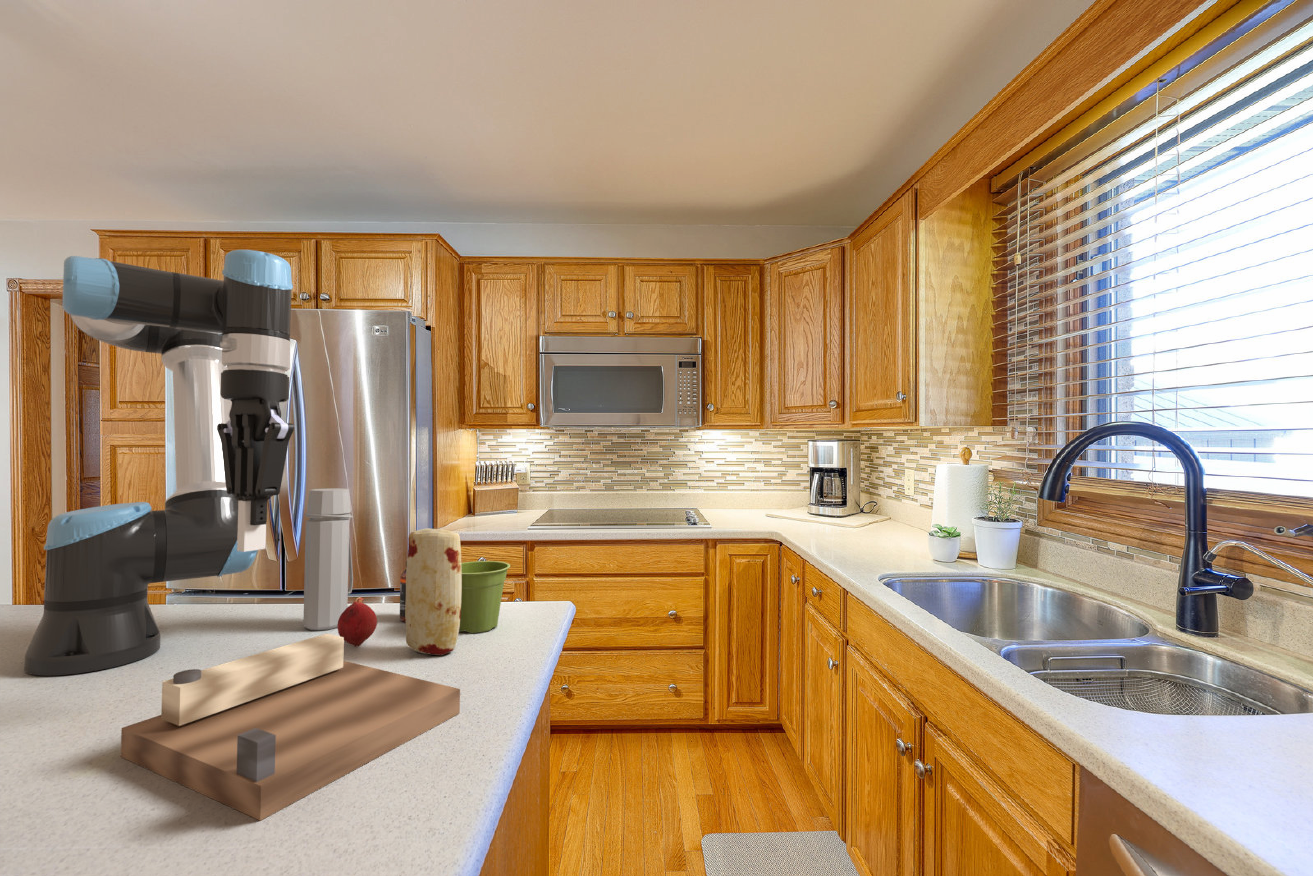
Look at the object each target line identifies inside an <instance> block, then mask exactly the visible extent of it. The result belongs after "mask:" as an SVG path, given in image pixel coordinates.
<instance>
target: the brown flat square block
mask: <svg viewBox="0 0 1313 876" xmlns="http://www.w3.org/2000/svg"><path fill="white" fill-rule="evenodd" d="M460 701H461V689H460V688H457V687H454V686H449V685H445V684H440V683H437V682H432V681H428V680H424V679H421V678H417V677H412V676H408V675H404V674H400V673H396V672H392V671H389V670H384V669H380V668H376V667H372V666H368V665H363V664H359V663H354V662H351V661H346V660H343V668H340V669H337V670H334V671H332V672H329V673H326V674H323V675H320V676H318V677H315V678H312V679H309V680H306V681H304V682H301V683H298V684H295V685H292V686H290V687H287V688H284V689H281V690H278V691H276V692H273V693H270V694H267V695H265V696H262V697H259V698H256V699H253V700H251V701H248V702H245V703H242V704H239V705H237V706H234V707H231V708H228V709H225V710H223V711H220V712H217V713H214V714H211V715H209V716H206V717H203V718H200V719H197V720H195V721H192V722H189V723H186V724H183V725H181V726H178V725H175V724H173V723H170V722H168V721H165V720H162V719H161V714H160V715H156V716H154V717H150V718H147V719H144V720H141V721H138V722H136V723H135V722H134V723H132V724H129V725H126V726H124V727H121V733H120V734H121V735H120V736H121V737H120V740H121V741H120V757H121V758H123V759H125V760H127V761H128V762H131V763H133V764H135V765H137V766H140V767H142V768H144V769H147V770H148V771H151V772H153V773H155V774H157V775H160V776H162V777H163V778H166V779H167V780H171V781H173V782H175V783H176V784H180V785H181V786H184V787H186V788H189V789H191V790H192V791H195V792H197V793H199V794H201V795H204V796H206V797H208V798H210V799H211V800H214V801H216V802H218V803H221V804H223V805H225V806H227V807H230V808H231V809H234V810H236V811H238V812H241V813H242V814H245V815H247V816H249V817H251V818H253V819H256V820H257V821H262V820H265V819H266V818H268V817H270V816H272V815H274V814H275V813H277V812H280V811H281V810H283V809H285V808H287V807H288V806H291V805H292V804H294V803H296V802H298V801H300V800H301V799H303V798H306V797H307V796H309V795H311V794H312V793H314V792H316V791H318V790H320V789H322V788H323V787H325V786H327V785H329V784H331V783H333V782H335V781H337V780H339V779H340V778H343V777H344V776H346V775H347V774H349V773H351V772H353V771H355V770H357V769H359V768H361V767H363V766H365V765H366V764H369V763H370V762H372V761H374V760H376V759H378V758H380V757H381V756H383V755H385V754H387V753H389V752H391V751H392V750H394V749H396V748H398V747H400V746H402V745H403V744H406V743H407V742H410V741H411V740H413V739H415V738H417V737H418V736H420V735H421V734H423V733H426V732H428V731H430V730H431V729H433V728H435V727H437V726H439V725H440V724H442V723H444V722H446V721H448V720H450V719H452V718H454V717H456V716H458V715H459V714H460V712H461V711H460V709H461V706H460V705H461V702H460Z"/></svg>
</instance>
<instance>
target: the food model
mask: <svg viewBox="0 0 1313 876" xmlns="http://www.w3.org/2000/svg"><path fill="white" fill-rule="evenodd" d="M407 539H408V547H407V557H406V558H407V559H406V561H407V568H406V567H405V569H406V604H405V620H406V622H405V642H406V645H407V647H409V648H410V649H411V650H413V651H415V652H418V653H422V654H428V655H435V656H442V655H447V654H448V653H450V652H453V651H454V650H455V648H456V644H457V642H458V637H459V632H460V631H459V627H460V615H461V593H462V572H461V563H462V549H461V547H462V546H461V536H460V534H459V533H458V532H454V531H451V530H448V529H443V528H428V527H427V528H422V529H418V530H415V531H412V532H410V533H409V534H408V538H407Z"/></svg>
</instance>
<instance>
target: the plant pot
mask: <svg viewBox="0 0 1313 876" xmlns="http://www.w3.org/2000/svg"><path fill="white" fill-rule="evenodd" d="M510 568H511V564H510V563H507V562H505V561H500V560H499V561H498V560H497V561H495V560H476V561H466V562H461V572H462V593H461V615H460V627H459V632H460V633H462V632H468V633H471V634H478V633H486V632H488V631H491V630H492V629H494V628H496V627H498V622H499V621H498V620H499V616H500V608H501V603H502V596H503V590H504V585H505V581H506V578H507V573H508V570H509V569H510Z"/></svg>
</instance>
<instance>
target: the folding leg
mask: <svg viewBox="0 0 1313 876" xmlns="http://www.w3.org/2000/svg"><path fill="white" fill-rule="evenodd" d="M344 642H345V641H344V637H340V635H335V634H330V633H324V634H321V635H317V636H315V637H310V638H306V639H304V640H300V641H297V642H292V643H290V644H286V645H283V646H279V647H276V648H273V649H268V650H266V651H263V652H260V653H255V654H251V655H248V656H245V657H241V658H238V659H235V660H232V661H228V662H224V663H222V664H218V665H214V666H211V667H208V668H204V669H195V668H194V669H185V670H182V671H181V670H180V671H179V672H176V673H175V674H173V675H172V676H173V677H172V678H170V679H167V680H163V681H161V683H162V684H161V686H162V687H161V709H160V710H161V712H160V713H161V714H160V715H161V719H162V720H165V721H168V722H170V723H173V724H175V725H178V726H181V725H183V724H186V723H189V722H192V721H195V720H197V719H200V718H203V717H206V716H209V715H211V714H214V713H217V712H220V711H223V710H225V709H228V708H231V707H234V706H237V705H239V704H242V703H245V702H248V701H251V700H253V699H256V698H259V697H262V696H265V695H267V694H270V693H273V692H276V691H278V690H281V689H284V688H287V687H290V686H292V685H295V684H298V683H301V682H304V681H306V680H309V679H312V678H315V677H318V676H320V675H323V674H326V673H329V672H332V671H334V670H337V669H340V668H343V661H344V653H345V652H344V646H345V643H344Z"/></svg>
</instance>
